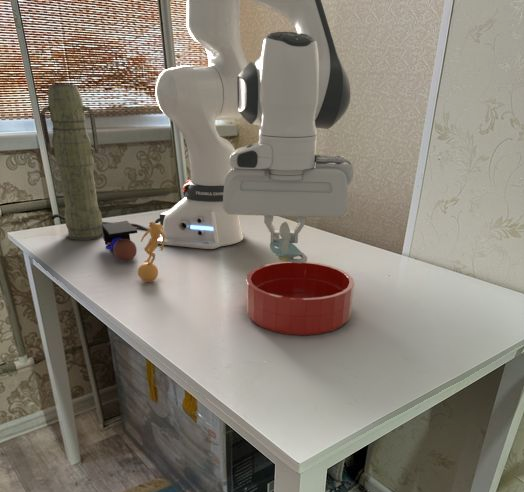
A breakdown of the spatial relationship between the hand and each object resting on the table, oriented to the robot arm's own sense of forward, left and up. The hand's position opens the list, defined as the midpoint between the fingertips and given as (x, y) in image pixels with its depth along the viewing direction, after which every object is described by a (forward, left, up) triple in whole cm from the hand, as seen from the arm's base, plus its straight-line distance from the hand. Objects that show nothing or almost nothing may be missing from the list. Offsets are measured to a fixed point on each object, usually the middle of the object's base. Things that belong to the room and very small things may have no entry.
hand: (284, 241), depth 85 cm
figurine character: (-39, +29, -13) cm, 50 cm away
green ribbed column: (-53, +43, -13) cm, 70 cm away
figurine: (-27, +13, -13) cm, 33 cm away
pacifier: (+1, -1, -3) cm, 3 cm away
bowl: (+3, 0, -13) cm, 13 cm away
